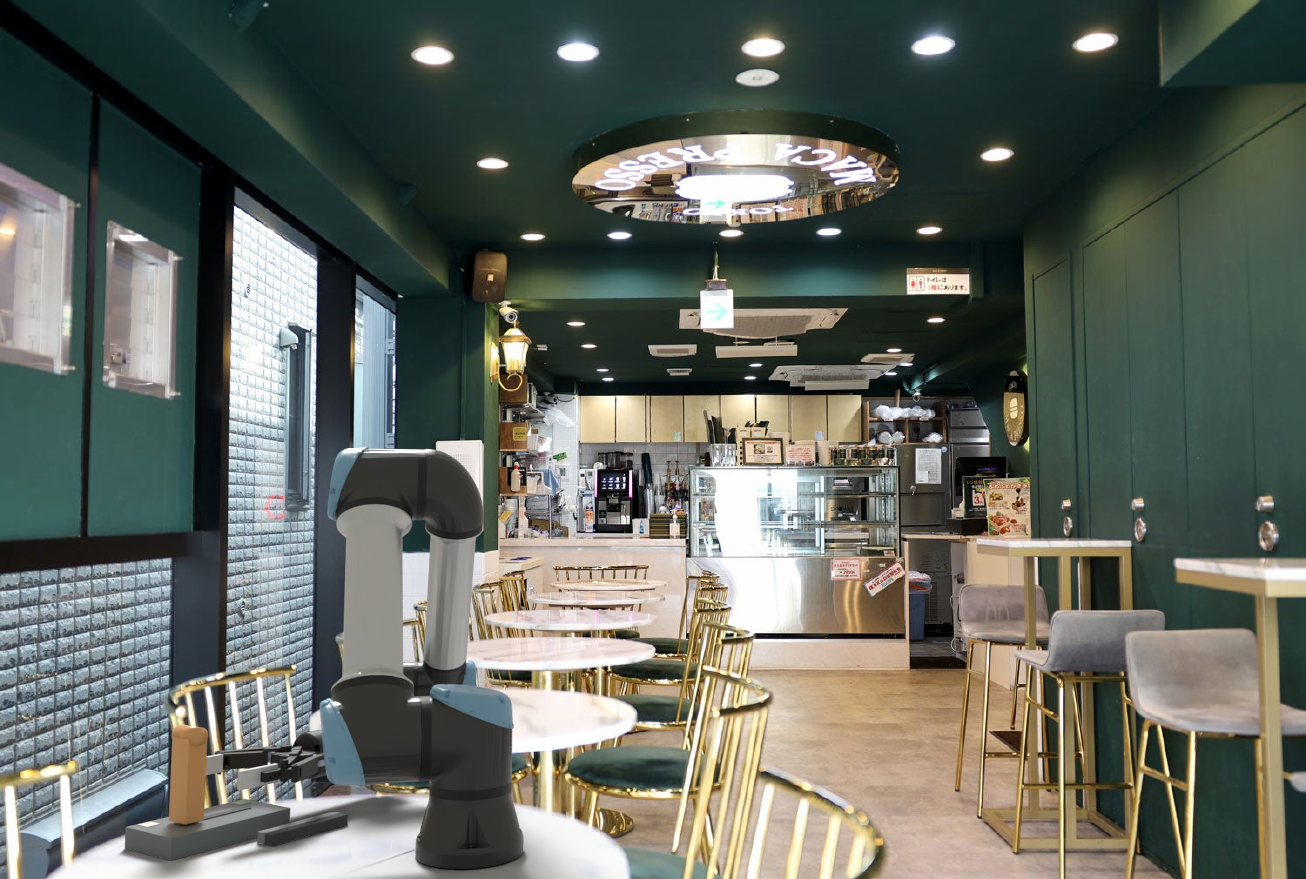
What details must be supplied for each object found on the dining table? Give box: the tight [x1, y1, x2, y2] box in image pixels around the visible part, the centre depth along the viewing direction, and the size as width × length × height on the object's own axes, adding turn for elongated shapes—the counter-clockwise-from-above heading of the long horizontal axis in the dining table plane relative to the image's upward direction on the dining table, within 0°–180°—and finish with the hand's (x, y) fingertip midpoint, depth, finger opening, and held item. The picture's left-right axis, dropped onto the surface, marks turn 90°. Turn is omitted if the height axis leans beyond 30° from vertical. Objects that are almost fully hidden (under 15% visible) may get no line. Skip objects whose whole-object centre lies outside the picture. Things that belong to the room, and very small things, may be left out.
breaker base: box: [124, 798, 291, 861], centre depth 158 cm, size 11×20×3 cm, turn 148°
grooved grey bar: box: [256, 811, 349, 848], centre depth 160 cm, size 3×14×2 cm, turn 148°
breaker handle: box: [168, 724, 209, 825], centre depth 155 cm, size 5×3×14 cm, turn 58°
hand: (210, 775), depth 159 cm, fingers open, 13 cm apart
